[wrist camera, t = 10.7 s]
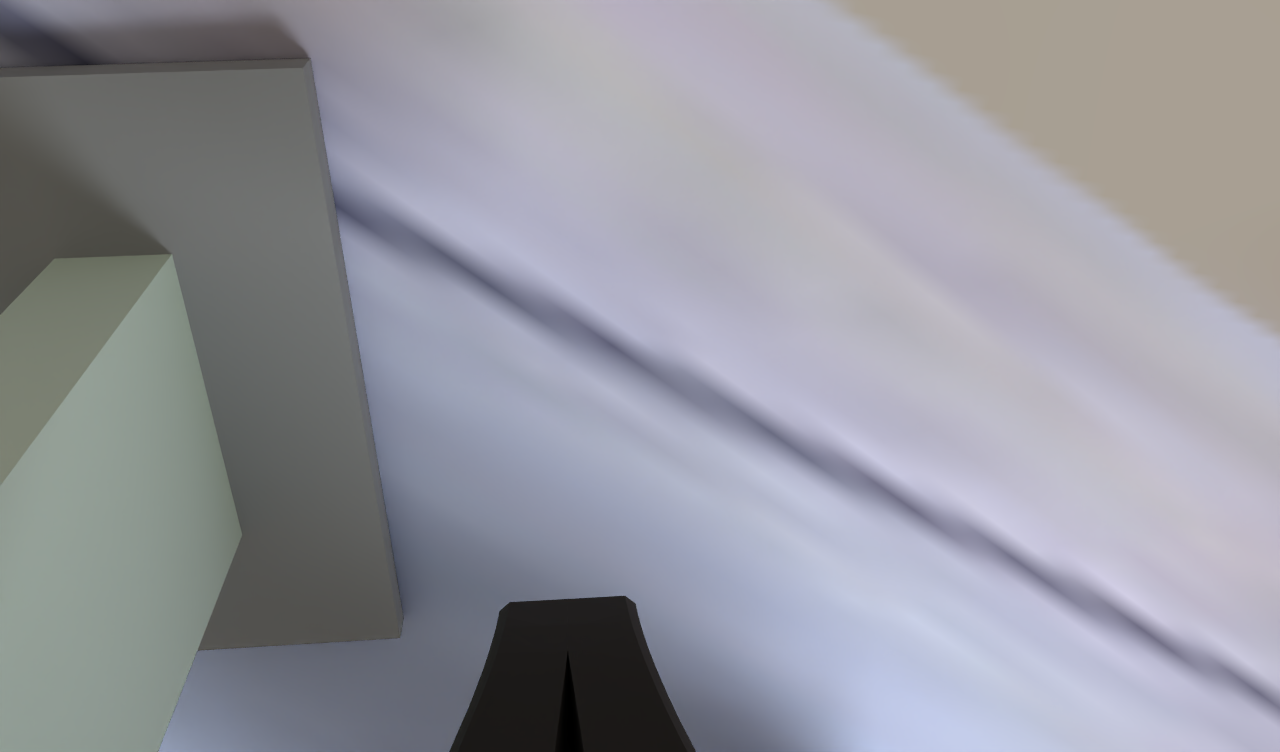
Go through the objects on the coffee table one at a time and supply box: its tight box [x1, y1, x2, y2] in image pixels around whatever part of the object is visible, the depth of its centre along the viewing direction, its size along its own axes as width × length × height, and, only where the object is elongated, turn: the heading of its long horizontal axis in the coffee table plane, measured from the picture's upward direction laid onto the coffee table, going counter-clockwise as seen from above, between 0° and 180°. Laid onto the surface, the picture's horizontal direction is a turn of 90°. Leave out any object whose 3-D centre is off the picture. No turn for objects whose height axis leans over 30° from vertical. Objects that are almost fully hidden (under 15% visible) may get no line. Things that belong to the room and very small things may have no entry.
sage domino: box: [0, 254, 242, 752], centre depth 12 cm, size 2×5×9 cm, turn 1°
